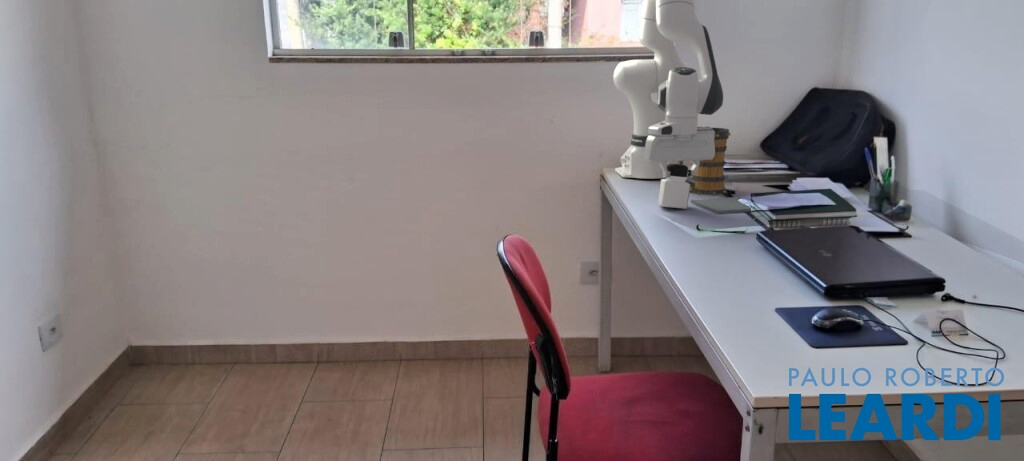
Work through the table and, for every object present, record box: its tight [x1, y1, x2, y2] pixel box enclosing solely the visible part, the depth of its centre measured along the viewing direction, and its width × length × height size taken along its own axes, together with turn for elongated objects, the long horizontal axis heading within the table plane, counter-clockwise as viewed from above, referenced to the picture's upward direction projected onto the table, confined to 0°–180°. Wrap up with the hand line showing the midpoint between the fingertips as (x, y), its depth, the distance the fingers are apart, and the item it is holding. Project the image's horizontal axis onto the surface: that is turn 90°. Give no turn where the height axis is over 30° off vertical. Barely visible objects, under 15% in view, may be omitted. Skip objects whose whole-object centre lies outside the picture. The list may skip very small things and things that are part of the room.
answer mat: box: [690, 196, 752, 215], centre depth 218 cm, size 16×16×1 cm
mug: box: [677, 127, 732, 196], centre depth 235 cm, size 13×17×20 cm
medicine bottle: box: [657, 163, 691, 209], centre depth 215 cm, size 7×7×12 cm
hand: (679, 176), depth 214 cm, fingers closed on medicine bottle, 6 cm apart
